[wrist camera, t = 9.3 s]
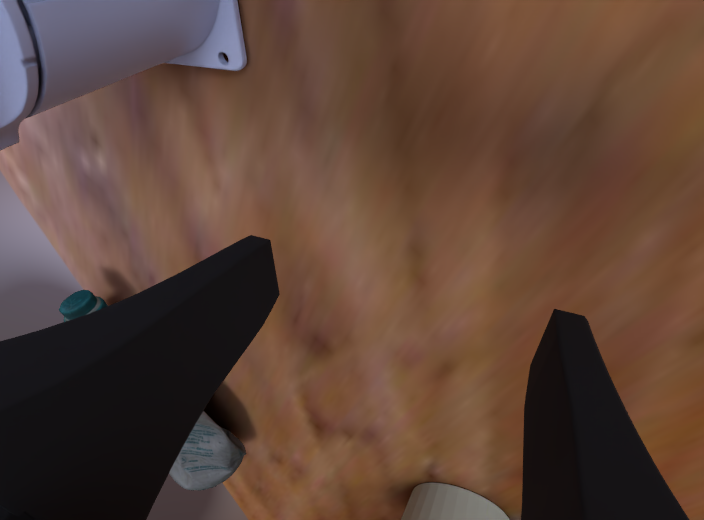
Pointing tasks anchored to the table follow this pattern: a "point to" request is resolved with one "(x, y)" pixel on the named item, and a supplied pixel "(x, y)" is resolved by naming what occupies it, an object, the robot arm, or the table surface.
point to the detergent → (205, 438)
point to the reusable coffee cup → (449, 504)
